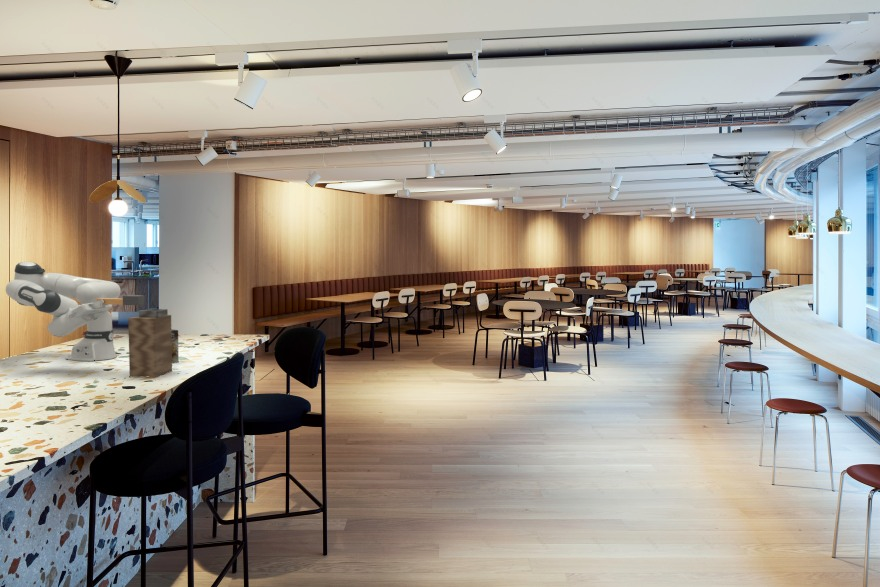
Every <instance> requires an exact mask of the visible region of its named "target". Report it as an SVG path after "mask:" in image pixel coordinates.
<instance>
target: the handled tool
mask: <svg viewBox="0 0 880 587" xmlns="http://www.w3.org/2000/svg"><path fill="white" fill-rule="evenodd" d="M102 299H104V300H105V303H104V304H111V305H112V306H113V305H117V306H118V305H119V306H140V305H145V295H144V294H141V295H140V294H127V295H122V298H120V297H118V298H98V299H97V301H99V300H102Z"/></svg>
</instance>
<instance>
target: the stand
mask: <svg viewBox="0 0 880 587" xmlns="http://www.w3.org/2000/svg"><path fill="white" fill-rule="evenodd" d="M127 321H128V322H127V323H128V360H129V361H128V363H129V367H128V368H129V377H130V376H151V377H150V378H158V377H160V375H161V376H163V375H165V373H166V374H168V373H170V372H173V363H172V334H171V329H172V314H168V309H167V308H147V309H145V310H138V315H136V316H132V317H128V320H127ZM167 372H168V373H167ZM162 374H163V375H162Z"/></svg>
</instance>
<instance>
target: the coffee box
mask: <svg viewBox="0 0 880 587" xmlns="http://www.w3.org/2000/svg"><path fill="white" fill-rule="evenodd" d="M171 334H172V364H174V362H176V363H179V362H180V361H179V359H180V358H179V330H178V329H172V328H171Z"/></svg>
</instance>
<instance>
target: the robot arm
mask: <svg viewBox="0 0 880 587" xmlns="http://www.w3.org/2000/svg"><path fill="white" fill-rule="evenodd" d="M45 272H46V270H45V269H44V268H42V267H41V265H40V264H38V263H37V262H32V261H22V262H18V263H17V264H16V265H15V267H14V277H13V278H14V279H13V280H10V281H9V282H8V283H7V284H6V287H5V292H6V293H5V294H6V295H7V297H9V298H10V299H12V300H14V301H16V302H17V304H19V305H20V306H25V307H34V308H35V309H36V310H37V311H39V312H41V313H46V314H48V315H52V320H51V321H50V323H48V324H47V326H46V328H47V330H48V331H47V332H49V333H50V334H51V335H52V336H54V337H57V338H63V337H66V336H67V335H70V334H72V333H74V332H75V331H76V330H77V329H78V328H81V327H83V326H84V327H85V325H86V327H87V328H86V331H85V332H83V333H82V334H81V335H83V338H82V339H80V341H78V342H77V343H75V345H73V346H72V347H71V348H72V349H71V352H70V355H67V356H66V357H65V359H66V360H67V359H68V361H69V360H70V361H71V360H72V361H79V362H80V361H81V362H94V360H95V361H103V360H111V359H115V358H117V353H116V351H115V345H114V330H113V315H112V313H111V312H109V310H111V309H112V308H113V305H111V304H104V303H105V300H104V299H102V300H99V301H97V299H98V298H120V296H121V291H122V290H121V287H120V285H119V284H118V283H116V282H115V281H109V280H103V279H99V278H98V279H97V278H89V277H81V276H76V275H71V274H66V273H60V272H47V273H45ZM75 299H76V300H75ZM78 302H79V303H80V304H79V303H78Z"/></svg>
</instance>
